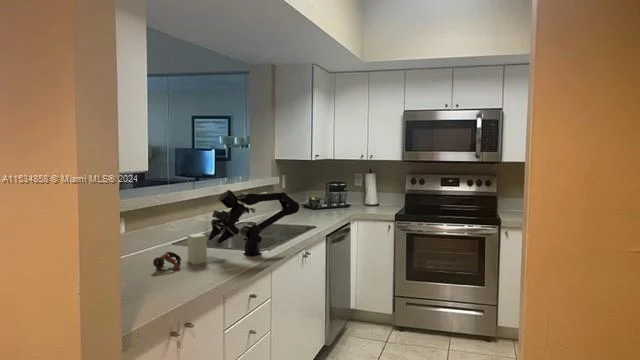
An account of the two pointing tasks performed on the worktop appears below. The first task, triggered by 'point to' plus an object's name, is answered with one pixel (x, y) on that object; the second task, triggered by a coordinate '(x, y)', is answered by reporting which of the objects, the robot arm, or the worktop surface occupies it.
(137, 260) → the worktop surface
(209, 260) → the slate mat
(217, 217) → the robot arm
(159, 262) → the red and black headphones
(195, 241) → the sage cover
